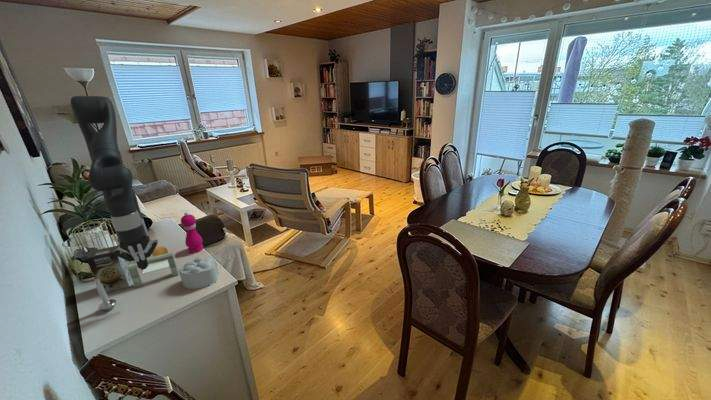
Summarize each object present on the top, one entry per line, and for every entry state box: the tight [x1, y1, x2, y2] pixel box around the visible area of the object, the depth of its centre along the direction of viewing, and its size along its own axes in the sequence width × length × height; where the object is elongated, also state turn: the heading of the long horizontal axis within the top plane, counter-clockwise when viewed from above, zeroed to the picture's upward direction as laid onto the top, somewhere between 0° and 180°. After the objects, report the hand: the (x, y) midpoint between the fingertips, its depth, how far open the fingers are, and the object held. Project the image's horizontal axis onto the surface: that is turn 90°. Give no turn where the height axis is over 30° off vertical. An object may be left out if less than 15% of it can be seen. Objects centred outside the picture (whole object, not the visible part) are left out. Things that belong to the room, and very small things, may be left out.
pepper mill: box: [180, 211, 204, 254], centre depth 135 cm, size 7×7×20 cm
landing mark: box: [141, 252, 176, 275], centre depth 129 cm, size 12×12×1 cm
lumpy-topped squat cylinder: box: [178, 256, 220, 290], centre depth 114 cm, size 10×13×9 cm
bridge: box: [127, 251, 180, 289], centre depth 115 cm, size 3×15×10 cm, turn 120°
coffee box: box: [85, 244, 132, 293], centre depth 111 cm, size 9×6×16 cm
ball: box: [151, 245, 169, 257], centre depth 131 cm, size 6×6×6 cm
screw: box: [93, 278, 117, 312], centre depth 100 cm, size 13×5×5 cm
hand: (144, 268), depth 102 cm, fingers closed
